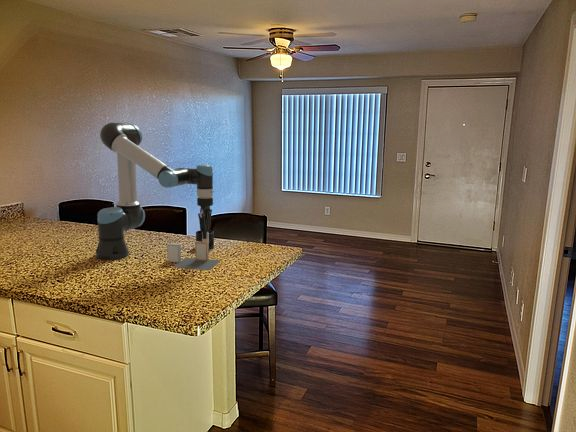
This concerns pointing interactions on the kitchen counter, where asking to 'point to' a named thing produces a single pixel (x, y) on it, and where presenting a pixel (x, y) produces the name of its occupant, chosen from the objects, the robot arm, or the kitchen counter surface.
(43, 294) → the kitchen counter surface
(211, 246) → the mug
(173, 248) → the grey tile
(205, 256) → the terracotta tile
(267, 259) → the kitchen counter surface
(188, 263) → the mat
